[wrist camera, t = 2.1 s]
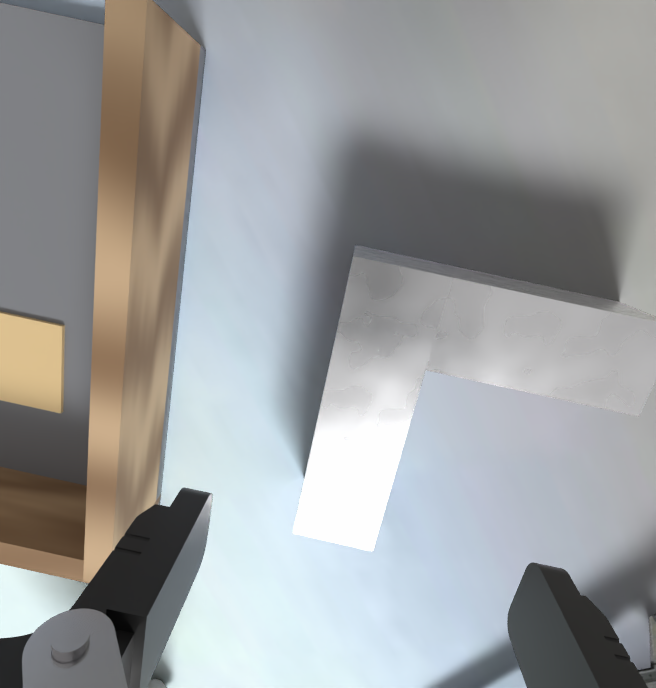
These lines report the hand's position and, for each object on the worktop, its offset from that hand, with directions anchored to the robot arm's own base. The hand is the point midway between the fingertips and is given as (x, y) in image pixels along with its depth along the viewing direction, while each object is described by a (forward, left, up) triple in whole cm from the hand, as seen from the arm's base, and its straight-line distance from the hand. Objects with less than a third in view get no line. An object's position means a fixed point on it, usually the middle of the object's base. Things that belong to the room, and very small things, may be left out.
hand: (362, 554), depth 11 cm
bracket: (0, +4, -11) cm, 11 cm away
